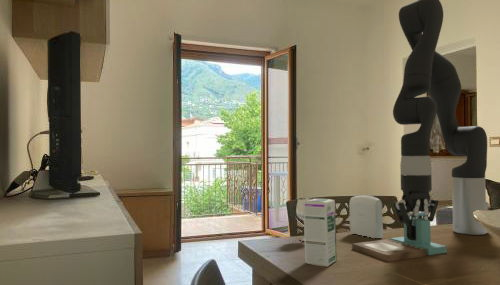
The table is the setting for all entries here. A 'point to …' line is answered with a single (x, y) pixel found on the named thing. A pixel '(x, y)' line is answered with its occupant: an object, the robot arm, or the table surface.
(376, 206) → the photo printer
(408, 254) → the board
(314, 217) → the syrup box
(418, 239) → the stub
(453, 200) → the robot arm
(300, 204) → the wineglass
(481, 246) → the table surface
